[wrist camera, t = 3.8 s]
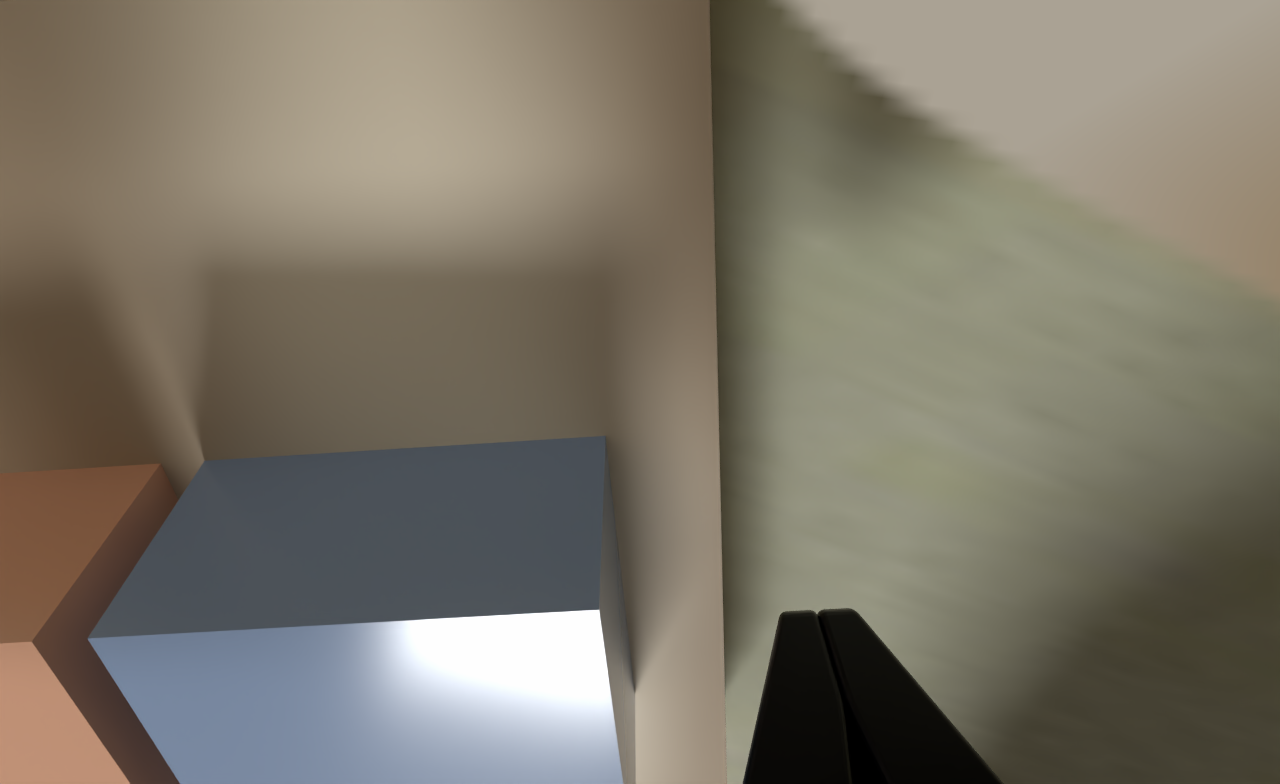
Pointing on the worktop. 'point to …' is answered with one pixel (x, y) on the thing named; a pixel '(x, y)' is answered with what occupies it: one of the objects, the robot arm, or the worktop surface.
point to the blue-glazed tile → (384, 620)
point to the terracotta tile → (71, 622)
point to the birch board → (382, 263)
